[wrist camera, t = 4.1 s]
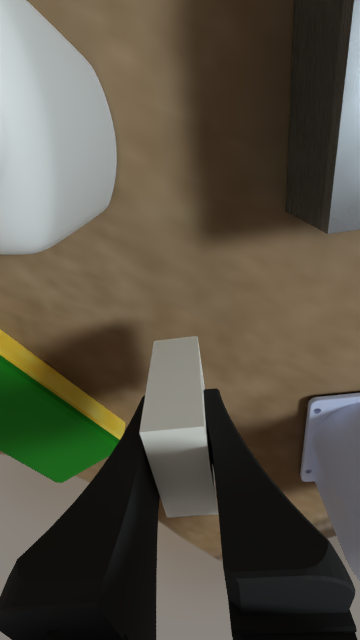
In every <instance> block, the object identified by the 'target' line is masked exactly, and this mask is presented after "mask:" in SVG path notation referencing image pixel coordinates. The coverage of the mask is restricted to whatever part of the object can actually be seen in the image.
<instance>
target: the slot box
mask: <svg viewBox="0 0 360 640" xmlns="http://www.w3.org/2000/svg"><path fill="white" fill-rule="evenodd" d="M286 212H288V213H290V214H292V215H293V216H295V217H297V218H299V219H301V220H303V221H305V222H307V223H308V224H310V225H312V226H314V227H316V228H318V229H320V230H321V231H323V232H325V233H327V234H330V233H338V232H345V231H352V230H359V229H360V0H294V22H293V46H292V71H291V96H290V121H289V146H288V171H287V195H286Z"/></svg>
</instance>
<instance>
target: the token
mask: <svg viewBox="0 0 360 640" xmlns="http://www.w3.org/2000/svg"><path fill="white" fill-rule="evenodd" d="M203 390H205V386H204V379H203V372H202V365H201V358H200V351H199V344H198V336H193V337H184V338H176V339H167V340H159V341H154V345H153V351H152V357H151V363H150V369H149V375H148V382H147V388H146V394H145V400H144V406H143V413H142V419H141V425H140V431H139V433H140V436H141V439H142V442H143V445H144V448H145V451H146V455H147V458H148V461H149V464H150V467H151V470H152V473H153V476H154V479H155V482H156V485H157V489H158V492H159V495H160V498H161V501H162V504H163V507H164V510H165V513H166V516H167V517H183V516H198V515H213V514H218V510H217V500H216V489H215V479H214V470H213V465H212V458H211V451H210V444H209V437H208V430H207V423H206V416H205V407H204V392H203Z"/></svg>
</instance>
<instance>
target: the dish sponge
mask: <svg viewBox="0 0 360 640" xmlns="http://www.w3.org/2000/svg"><path fill="white" fill-rule="evenodd" d="M124 430H125V422H124V421H122V420H121V419H120V418H118V417H117V416H116V415H114V414H113V413H112V412H110V411H109V410H108V409H106V408H105V407H104V406H102V405H101V404H100V403H98V402H97V401H96V400H94V399H93V398H92V397H90V396H89V395H88V394H86V393H85V392H84V391H82V390H81V389H79V388H78V387H77V386H75V385H74V384H73V383H71V382H70V381H69V380H67V379H66V378H65V377H63V376H62V375H61V374H59V373H58V372H57V371H55V370H54V369H53V368H51V367H50V366H49V365H47V364H46V363H45V362H43V361H42V360H41V359H39V358H38V357H37V356H35V355H34V354H33V353H31V352H30V351H29V350H27V349H26V348H24V347H23V346H22V345H20V344H19V343H18V342H16V341H15V340H14V339H12V338H11V337H10V336H8V335H7V334H6V333H4V332H3V331H2V330H0V451H2V452H3V453H5V454H7V455H9V456H11V457H12V458H14V459H16V460H18V461H19V462H21V463H23V464H25V465H26V466H28V467H30V468H32V469H34V470H35V471H37V472H39V473H41V474H42V475H44V476H46V477H48V478H49V479H51V480H53V481H55V482H61V483H62V482H64V481H66V480H68V479H70V478H71V477H73V476H75V475H77V474H78V473H80V472H82V471H84V470H85V469H87V468H89V467H91V466H92V465H94V464H96V463H98V462H99V461H101V460H103V459H105V458H106V457H108V456H110V455H111V453H112V452H113V450H114V449H115V447H116V445H117V444H118V442H119V441H120V439H121V437H122V436H123V434H124Z"/></svg>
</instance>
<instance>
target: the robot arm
mask: <svg viewBox="0 0 360 640" xmlns="http://www.w3.org/2000/svg"><path fill="white" fill-rule="evenodd" d="M203 392H204V407H205V416H206V423H207V430H208V437H209V444H210V451H211V458H212V465H213V470H214V475H215V481H216V489H217V500H218V511H219V522H220V534H221V545H222V557H223V568H224V574H225V581H226V588H227V594H228V601H229V611H230V621H231V630H232V636H233V640H357V637H356V634H355V632H356V626H355V624H354V621H353V618H352V615H351V613H350V610H349V608H350V606H351V604H352V601H353V599H354V596H355V588H354V585H353V583H352V580H351V578H350V576H349V574H348V572H347V570H346V568H345V567H344V565H343V563H342V561H341V559H340V558H339V556H338V554H337V553H336V551H335V549H334V548H333V546H332V545H331V543H330V542H329V540H328V539H327V538H326V537H325V536H324V535H323V534H322V533H321V532H320V531H318V530H317V529H316V528H315V527H314V526H313V525H312V524H311V523H310V522H309V521H308V520H307V519H306V518H305V517H304V515H303V514H302V513H301V512H300V511H299V510H298V509H297V508H296V507H295V506H294V505H293V504H292V503H291V502H290V500H289V499H288V498H287V497H286V496H285V495H284V494H283V492H282V491H281V490H280V489H279V488H278V487H277V485H276V484H275V483H274V482H273V481H272V480H271V478H270V477H269V476H268V474H267V473H266V472H265V471H264V469H263V468H262V467H261V465H260V464H259V463H258V461H257V460H256V459H255V457H254V456H253V454H252V453H251V451H250V450H249V449H248V447H247V445H246V444H245V442H244V441H243V439H242V438H241V436H240V434H239V433H238V431H237V429H236V427H235V426H234V424H233V422H232V420H231V418H230V416H229V415H228V412H227V410H226V408H225V406H224V404H223V401H222V399H221V396H220V392H219V390H218V389H206V390H203ZM144 400H145V396H143V397H142V399H141V401H140V404H139V406H138V408H137V410H136V412H135V414H134V416H133V418H132V419H131V421H130V423H129V425H128V427H127V429H126V430H125V432H124V434H123V436H122V437H121V439H120V441H119V442H118V444H117V445H116V447H115V449H114V450H113V452H112V453H111V455H110V456H109V458H108V459H107V461H106V462H105V464H104V465H103V466H102V468H101V469H100V471H99V472H98V473H97V475H96V476H95V477H94V479H93V480H92V481H91V482H90V484H89V485H88V486H87V488H86V489H85V490H84V491H83V492H82V494H81V495H80V496H79V497H78V498H77V500H76V501H75V502H74V503H73V504H72V505H71V506H70V508H68V510H67V511H66V512H65V513H64V514H63V515H62V516H61V517H60V519H58V520H57V521H56V522H55V523H54V525H53V526H52V527H51V528H50V529H49V530H48V531H47V532H46V533H45V534H44V535H43V536H41V537H40V538H39V539H38V540H37V541H36V542H35V543H34V544H33V545H32V546H31V547H30V548H29V549H28V550H27V551H26V552H25V553H24V554H23V555H22V556H20V557H19V558H18V559H17V561H16V563H15V565H14V567H13V569H12V571H11V573H10V575H9V577H8V580H7V582H6V584H5V587H4V589H3V592H2V594H1V596H0V631H1V632H2V633H4V634H5V635H6V636H8V637H9V638H10V639H12V640H156V568H157V567H156V566H157V527H158V508H159V498H160V495H159V492H158V489H157V485H156V482H155V479H154V476H153V473H152V470H151V467H150V464H149V461H148V458H147V455H146V451H145V448H144V445H143V442H142V439H141V436H140V433H139V431H140V425H141V419H142V413H143V406H144ZM300 476H301V479H302V481H304V482H313V481H315V484H316V486H317V489H318V491H319V494H320V496H321V499H322V501H323V503H324V506H325V508H326V511H327V513H328V516H329V518H330V521H331V523H332V526H333V528H334V531H335V533H336V535H337V538H338V540H339V543H340V545H341V548H342V550H343V552H344V555H345V557H346V560H347V561H348V564H349V566H350V567H351V569H352V571H353V572H354V573H355V575H356V576H357V578H358V579H359V580H360V393H353V394H342V395H332V396H322V397H314V398H312V399H311V400H310V401H309V403H308V410H307V419H306V428H305V437H304V446H303V455H302V464H301V472H300Z"/></svg>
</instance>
